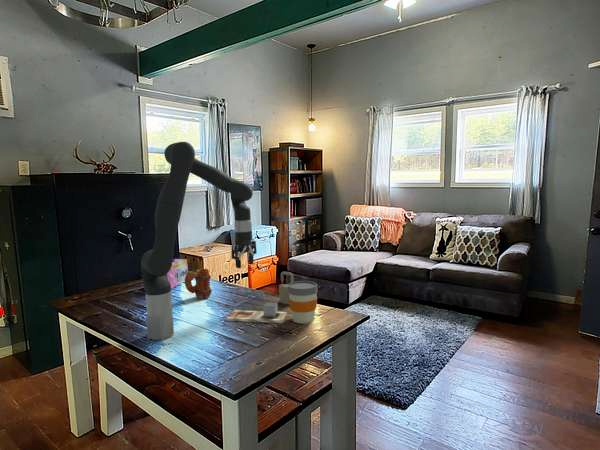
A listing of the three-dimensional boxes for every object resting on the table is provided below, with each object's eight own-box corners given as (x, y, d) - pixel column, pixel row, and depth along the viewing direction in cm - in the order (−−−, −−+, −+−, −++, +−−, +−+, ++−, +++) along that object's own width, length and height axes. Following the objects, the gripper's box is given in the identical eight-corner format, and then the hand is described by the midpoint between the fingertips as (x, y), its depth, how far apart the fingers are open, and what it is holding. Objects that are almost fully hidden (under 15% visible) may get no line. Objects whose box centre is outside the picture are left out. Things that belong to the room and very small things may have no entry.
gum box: (178, 279, 230) (177, 257, 229) (190, 280, 228) (189, 257, 227) (155, 291, 207) (153, 266, 205) (168, 291, 205) (166, 267, 204)
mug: (206, 293, 199) (204, 265, 198) (216, 296, 194) (214, 267, 192) (181, 300, 188) (180, 271, 186) (191, 304, 183) (189, 273, 181)
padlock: (283, 300, 185) (282, 270, 184) (297, 303, 181) (296, 272, 179) (278, 302, 182) (277, 271, 180) (291, 305, 177) (291, 274, 176)
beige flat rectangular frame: (287, 314, 165) (287, 311, 165) (282, 323, 155) (282, 320, 155) (234, 312, 169) (234, 310, 169) (226, 321, 160) (226, 318, 159)
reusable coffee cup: (321, 315, 163) (320, 281, 162) (314, 326, 151) (313, 289, 150) (293, 313, 167) (292, 280, 165) (284, 323, 155) (283, 288, 153)
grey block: (275, 320, 158) (274, 306, 158) (263, 319, 159) (263, 306, 159) (278, 316, 163) (277, 302, 163) (266, 315, 164) (266, 302, 164)
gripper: (239, 232, 159) (241, 270, 161) (259, 228, 171) (261, 263, 173) (225, 231, 163) (227, 268, 165) (247, 227, 175) (248, 262, 177)
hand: (245, 265), depth 169 cm, fingers open, 8 cm apart
